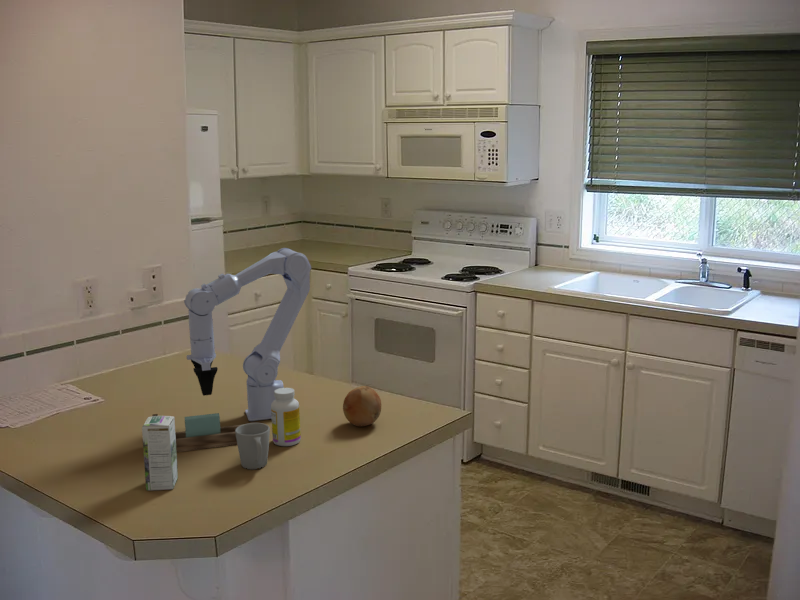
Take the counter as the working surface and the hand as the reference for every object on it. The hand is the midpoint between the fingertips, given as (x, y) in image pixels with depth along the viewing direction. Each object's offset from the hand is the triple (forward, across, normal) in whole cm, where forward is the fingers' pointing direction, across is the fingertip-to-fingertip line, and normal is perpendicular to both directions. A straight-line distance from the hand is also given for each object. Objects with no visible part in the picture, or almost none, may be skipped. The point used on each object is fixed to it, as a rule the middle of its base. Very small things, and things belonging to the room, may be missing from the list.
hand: (205, 390), depth 210 cm
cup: (+10, +29, +8) cm, 32 cm away
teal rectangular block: (+9, +11, -2) cm, 14 cm away
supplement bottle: (+10, +17, +17) cm, 26 cm away
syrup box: (+10, +32, -12) cm, 36 cm away
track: (+9, +11, -2) cm, 15 cm away
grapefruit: (+10, +13, +37) cm, 40 cm away
